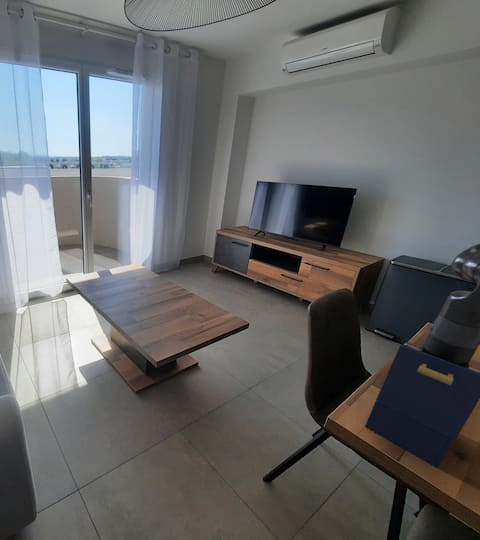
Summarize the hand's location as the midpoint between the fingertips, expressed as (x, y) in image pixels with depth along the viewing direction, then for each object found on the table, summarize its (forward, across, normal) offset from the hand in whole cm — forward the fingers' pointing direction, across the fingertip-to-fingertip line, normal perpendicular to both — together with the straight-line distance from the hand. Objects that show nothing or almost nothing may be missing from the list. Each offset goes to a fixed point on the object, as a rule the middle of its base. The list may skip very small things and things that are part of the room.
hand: (426, 391), depth 71 cm
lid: (-5, 0, +8) cm, 9 cm away
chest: (+12, 0, +1) cm, 12 cm away
